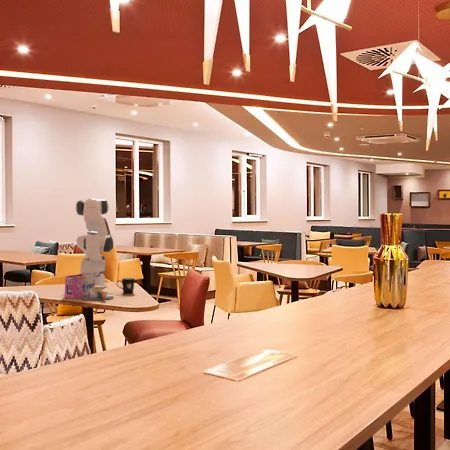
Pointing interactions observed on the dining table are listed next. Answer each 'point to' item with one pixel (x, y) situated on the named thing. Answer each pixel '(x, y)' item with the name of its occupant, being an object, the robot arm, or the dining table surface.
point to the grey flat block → (97, 294)
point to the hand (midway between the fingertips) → (92, 280)
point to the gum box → (78, 285)
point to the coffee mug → (127, 285)
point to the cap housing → (97, 288)
